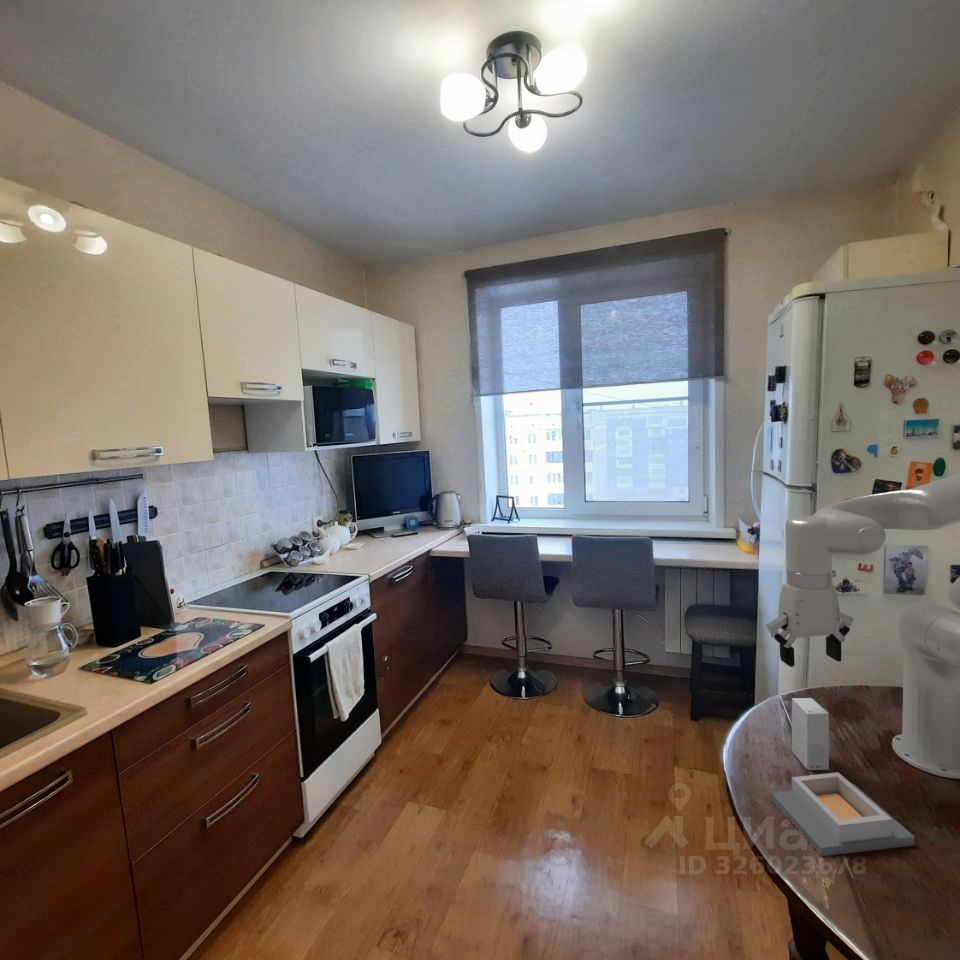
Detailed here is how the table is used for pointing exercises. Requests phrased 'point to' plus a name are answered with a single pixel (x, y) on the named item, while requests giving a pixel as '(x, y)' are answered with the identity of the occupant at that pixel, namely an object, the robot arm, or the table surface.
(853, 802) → the panel
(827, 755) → the skincare box
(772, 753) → the table surface
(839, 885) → the table surface
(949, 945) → the table surface
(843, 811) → the button
